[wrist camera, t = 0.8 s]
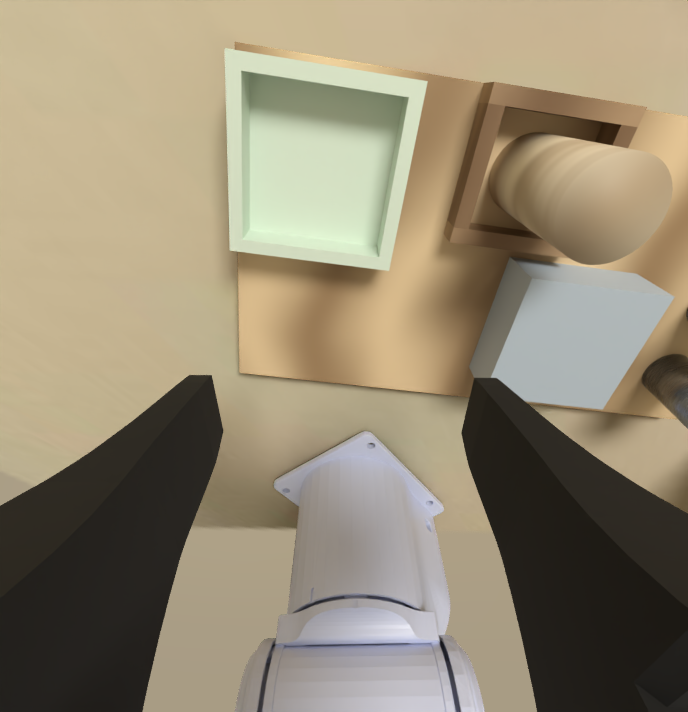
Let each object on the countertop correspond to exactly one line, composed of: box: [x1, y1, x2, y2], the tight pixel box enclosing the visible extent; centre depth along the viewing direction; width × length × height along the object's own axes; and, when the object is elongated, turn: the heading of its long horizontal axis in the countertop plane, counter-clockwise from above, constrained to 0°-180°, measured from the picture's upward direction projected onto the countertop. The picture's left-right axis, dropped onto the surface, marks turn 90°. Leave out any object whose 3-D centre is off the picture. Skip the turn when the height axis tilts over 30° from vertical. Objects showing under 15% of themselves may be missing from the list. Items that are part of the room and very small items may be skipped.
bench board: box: [235, 42, 688, 419], centre depth 18 cm, size 25×14×2 cm, turn 82°
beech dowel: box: [489, 132, 673, 265], centre depth 13 cm, size 3×3×6 cm
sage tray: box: [225, 48, 428, 271], centre depth 15 cm, size 6×6×2 cm
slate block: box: [469, 257, 674, 410], centre depth 18 cm, size 6×6×2 cm
